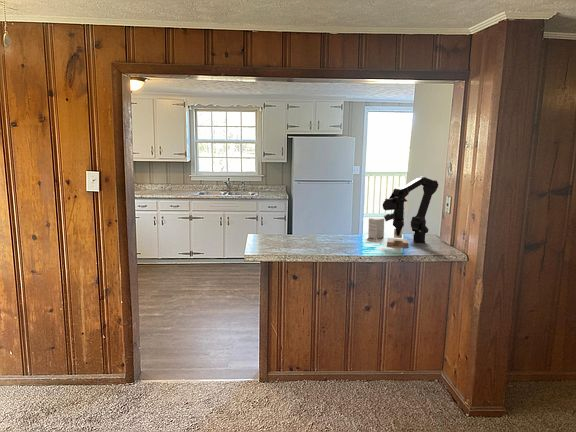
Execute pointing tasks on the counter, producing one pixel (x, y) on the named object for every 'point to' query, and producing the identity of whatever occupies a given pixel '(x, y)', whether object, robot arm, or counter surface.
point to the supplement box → (376, 228)
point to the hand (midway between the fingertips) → (397, 235)
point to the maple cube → (396, 234)
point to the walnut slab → (397, 242)
